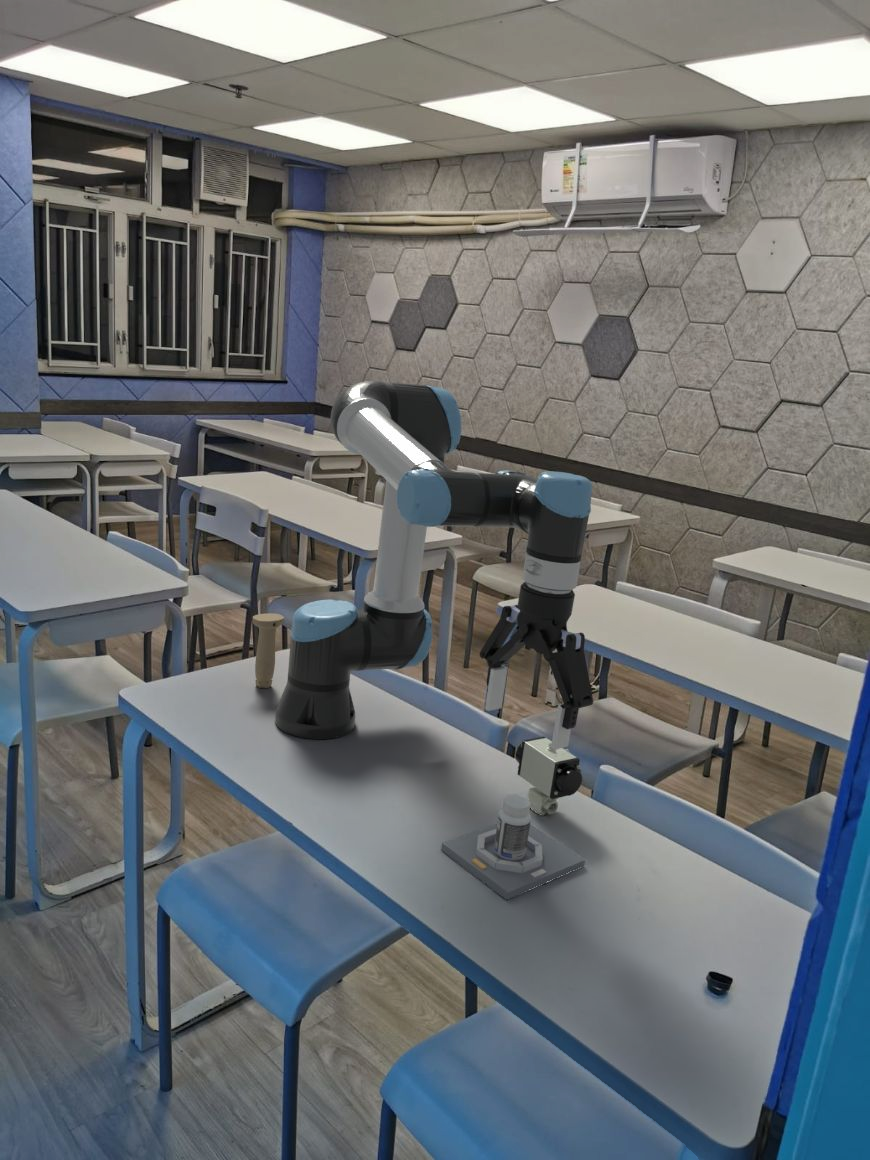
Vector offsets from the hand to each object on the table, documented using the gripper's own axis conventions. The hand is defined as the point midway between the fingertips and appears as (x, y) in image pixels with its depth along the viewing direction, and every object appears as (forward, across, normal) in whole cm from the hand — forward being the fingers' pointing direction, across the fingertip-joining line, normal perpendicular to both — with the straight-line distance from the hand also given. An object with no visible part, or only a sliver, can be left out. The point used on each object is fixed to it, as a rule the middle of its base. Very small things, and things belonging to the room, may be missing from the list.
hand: (524, 727), depth 126 cm
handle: (+22, -71, -2) cm, 74 cm away
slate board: (+20, +2, 0) cm, 20 cm away
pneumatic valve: (+20, -6, +14) cm, 26 cm away
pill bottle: (+19, +2, -1) cm, 19 cm away
